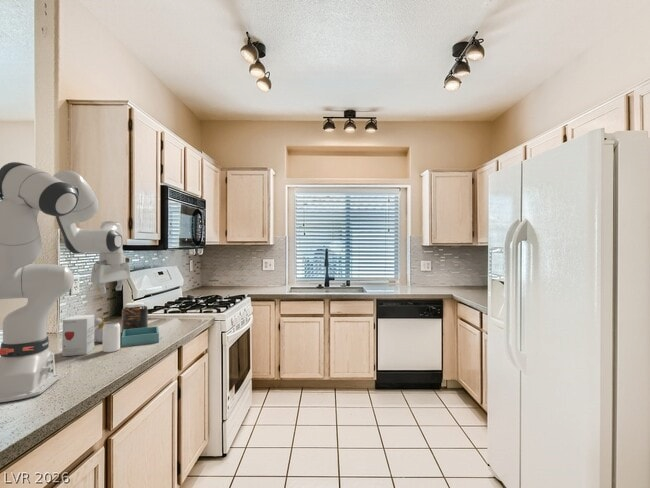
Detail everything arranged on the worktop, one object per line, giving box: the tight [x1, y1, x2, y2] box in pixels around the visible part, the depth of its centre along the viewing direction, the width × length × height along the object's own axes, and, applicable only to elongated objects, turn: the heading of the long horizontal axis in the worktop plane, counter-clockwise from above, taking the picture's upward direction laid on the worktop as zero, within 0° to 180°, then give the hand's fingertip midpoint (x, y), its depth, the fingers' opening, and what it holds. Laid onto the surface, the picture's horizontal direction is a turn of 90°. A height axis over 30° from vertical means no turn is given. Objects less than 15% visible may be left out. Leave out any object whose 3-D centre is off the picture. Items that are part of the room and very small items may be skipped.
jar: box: [121, 301, 149, 334], centre depth 180 cm, size 12×12×15 cm
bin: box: [121, 325, 160, 347], centre depth 165 cm, size 15×15×4 cm
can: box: [102, 320, 121, 353], centre depth 150 cm, size 6×6×12 cm
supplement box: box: [61, 314, 95, 357], centre depth 147 cm, size 9×9×15 cm
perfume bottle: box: [94, 316, 106, 344], centre depth 162 cm, size 8×10×12 cm
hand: (111, 291), depth 150 cm, fingers open, 8 cm apart
